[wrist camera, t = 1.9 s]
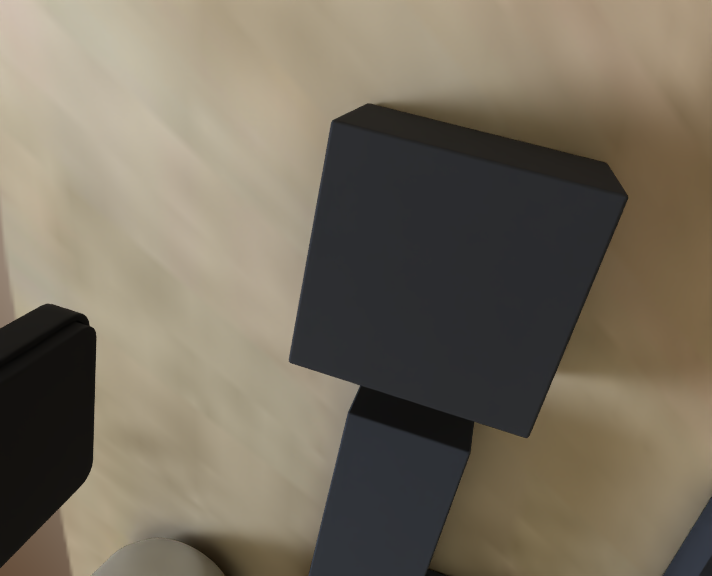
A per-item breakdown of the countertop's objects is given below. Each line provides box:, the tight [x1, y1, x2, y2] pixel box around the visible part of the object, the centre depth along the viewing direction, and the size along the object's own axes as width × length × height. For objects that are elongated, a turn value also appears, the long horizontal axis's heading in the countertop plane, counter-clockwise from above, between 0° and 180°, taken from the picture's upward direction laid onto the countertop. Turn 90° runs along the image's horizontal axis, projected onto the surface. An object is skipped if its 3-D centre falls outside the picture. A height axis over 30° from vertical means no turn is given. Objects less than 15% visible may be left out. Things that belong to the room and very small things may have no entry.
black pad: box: [289, 104, 628, 438], centre depth 16 cm, size 7×7×4 cm
